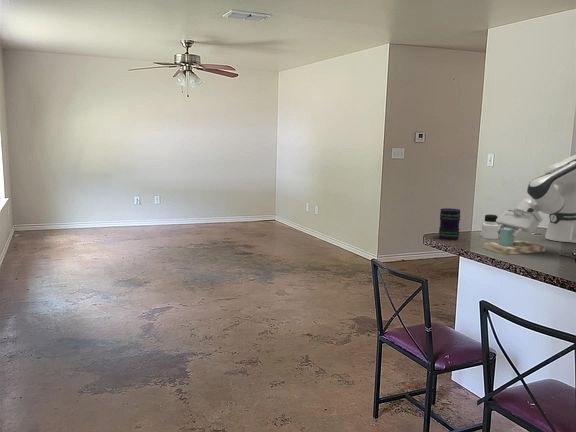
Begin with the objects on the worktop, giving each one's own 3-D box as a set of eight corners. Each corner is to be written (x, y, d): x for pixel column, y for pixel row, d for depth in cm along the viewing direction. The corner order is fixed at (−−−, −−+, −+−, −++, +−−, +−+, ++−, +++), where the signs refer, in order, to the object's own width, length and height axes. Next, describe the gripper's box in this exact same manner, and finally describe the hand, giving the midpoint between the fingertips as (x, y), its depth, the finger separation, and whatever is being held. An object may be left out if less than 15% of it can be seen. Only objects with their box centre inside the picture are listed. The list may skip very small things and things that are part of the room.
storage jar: (447, 241, 247) (448, 211, 244) (434, 237, 256) (436, 208, 253) (463, 239, 250) (464, 210, 248) (450, 236, 259) (451, 207, 257)
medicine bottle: (498, 239, 252) (500, 216, 250) (483, 238, 253) (485, 215, 251) (495, 236, 259) (497, 214, 257) (481, 236, 260) (482, 213, 258)
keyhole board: (521, 245, 238) (522, 240, 237) (544, 251, 225) (545, 246, 224) (483, 248, 231) (484, 242, 231) (505, 254, 218) (505, 249, 218)
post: (505, 249, 229) (507, 228, 228) (512, 251, 225) (514, 229, 224) (499, 250, 228) (500, 228, 226) (505, 251, 224) (507, 230, 222)
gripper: (504, 205, 236) (486, 226, 234) (538, 211, 216) (519, 234, 215) (510, 213, 238) (493, 235, 236) (545, 220, 219) (526, 243, 217)
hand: (505, 234), depth 225 cm, fingers open, 8 cm apart
